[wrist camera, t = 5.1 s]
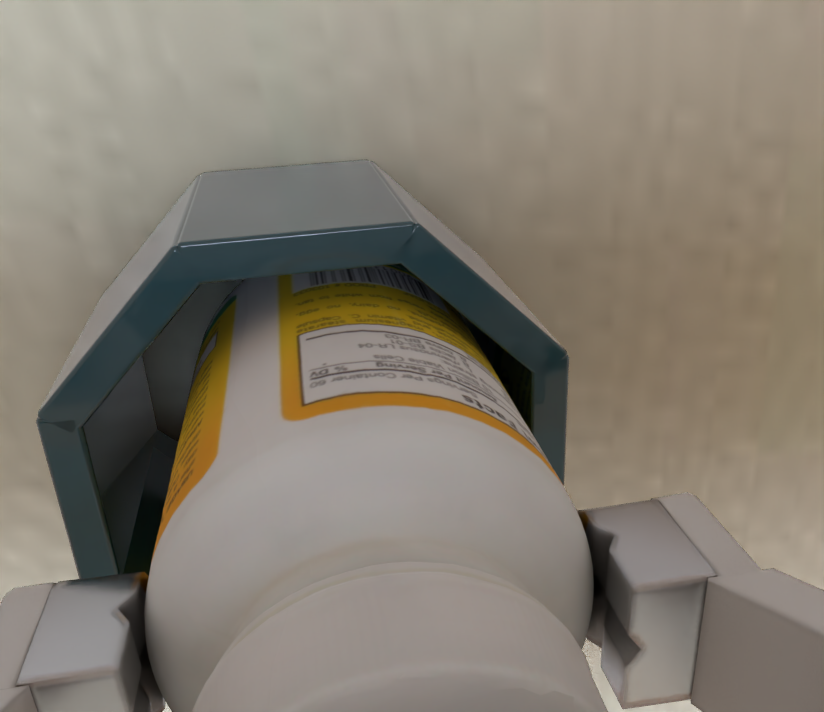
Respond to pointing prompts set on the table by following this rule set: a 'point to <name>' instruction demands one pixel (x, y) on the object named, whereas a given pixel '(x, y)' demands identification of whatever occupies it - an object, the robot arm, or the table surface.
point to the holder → (245, 259)
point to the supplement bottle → (362, 517)
